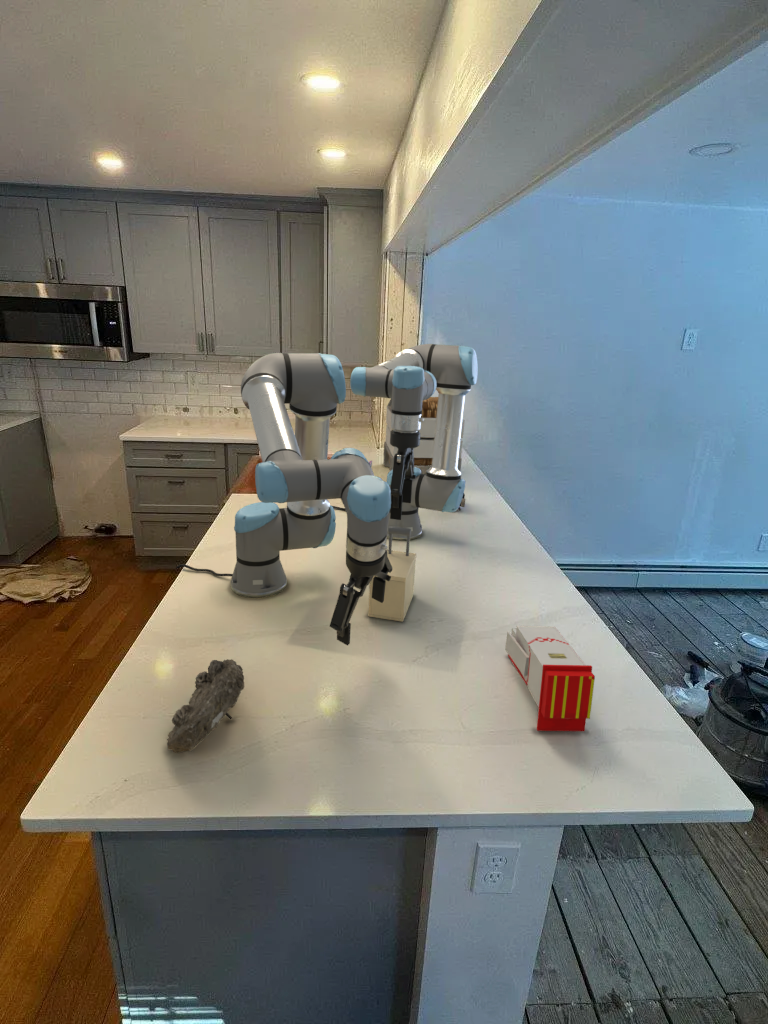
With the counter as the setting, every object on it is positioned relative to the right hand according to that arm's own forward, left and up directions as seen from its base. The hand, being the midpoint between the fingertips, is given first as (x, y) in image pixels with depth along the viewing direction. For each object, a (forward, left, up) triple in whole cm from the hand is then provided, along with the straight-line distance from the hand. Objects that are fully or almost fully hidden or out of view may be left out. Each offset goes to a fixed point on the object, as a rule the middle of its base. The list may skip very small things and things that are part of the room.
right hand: (401, 510), depth 148 cm
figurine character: (-42, +70, -25) cm, 85 cm away
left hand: (+19, -28, -14) cm, 37 cm away
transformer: (-86, +92, -25) cm, 129 cm away
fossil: (+16, -61, -25) cm, 68 cm away
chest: (+4, -5, -25) cm, 26 cm away
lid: (+3, -4, -14) cm, 15 cm away
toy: (+49, -2, -25) cm, 55 cm away
